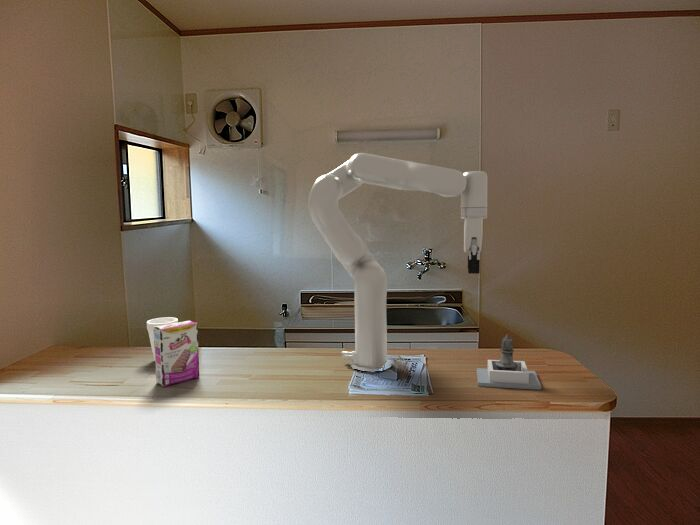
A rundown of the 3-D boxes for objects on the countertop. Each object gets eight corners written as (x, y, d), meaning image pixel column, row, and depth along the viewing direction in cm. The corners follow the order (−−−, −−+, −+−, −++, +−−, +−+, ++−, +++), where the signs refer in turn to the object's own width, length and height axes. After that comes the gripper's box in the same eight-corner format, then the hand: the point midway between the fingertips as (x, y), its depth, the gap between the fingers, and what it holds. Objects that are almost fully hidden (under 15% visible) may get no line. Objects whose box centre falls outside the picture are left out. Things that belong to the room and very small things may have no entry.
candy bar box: (163, 388, 140) (159, 329, 138) (155, 383, 144) (152, 326, 142) (201, 377, 148) (198, 322, 146) (192, 373, 151) (189, 319, 149)
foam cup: (142, 362, 163) (140, 322, 161) (163, 354, 171) (161, 316, 170) (166, 365, 159) (163, 325, 158) (186, 357, 168) (184, 318, 166)
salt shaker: (518, 380, 137) (519, 337, 136) (496, 379, 139) (496, 336, 137) (516, 373, 143) (517, 331, 142) (494, 372, 144) (495, 330, 143)
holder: (477, 386, 137) (478, 371, 136) (476, 371, 149) (476, 358, 148) (541, 389, 133) (541, 374, 133) (534, 374, 145) (535, 360, 145)
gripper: (461, 213, 160) (460, 267, 162) (460, 214, 144) (460, 275, 146) (485, 212, 159) (485, 267, 161) (488, 214, 142) (487, 275, 144)
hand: (473, 271), depth 153 cm, fingers open, 9 cm apart
